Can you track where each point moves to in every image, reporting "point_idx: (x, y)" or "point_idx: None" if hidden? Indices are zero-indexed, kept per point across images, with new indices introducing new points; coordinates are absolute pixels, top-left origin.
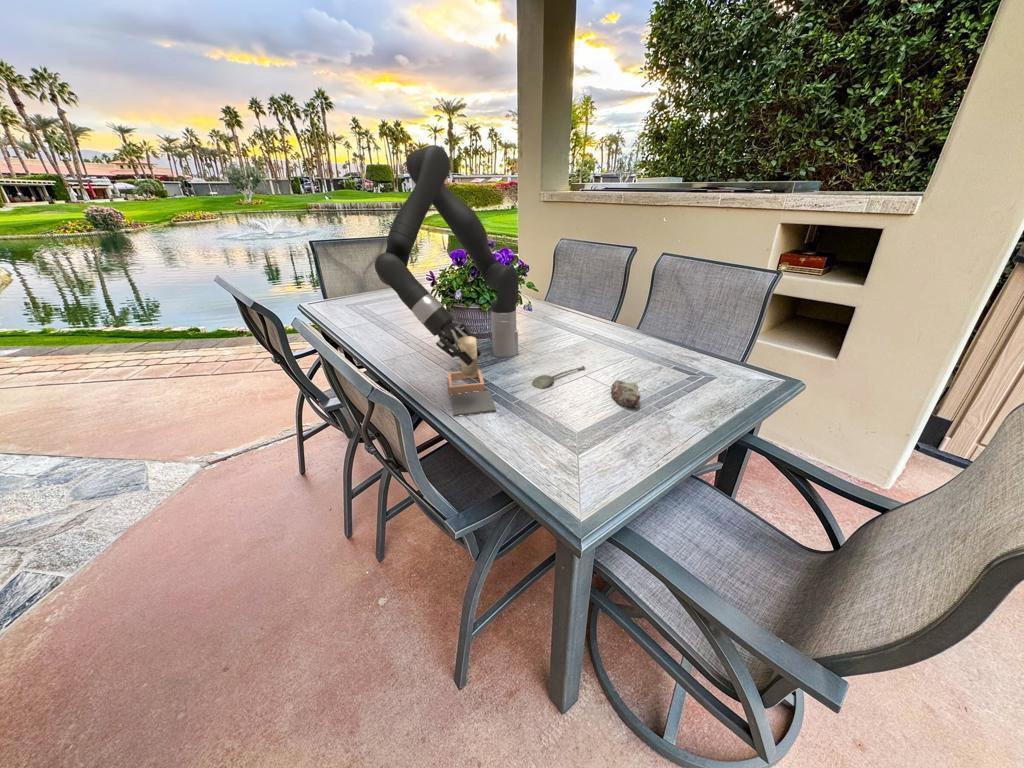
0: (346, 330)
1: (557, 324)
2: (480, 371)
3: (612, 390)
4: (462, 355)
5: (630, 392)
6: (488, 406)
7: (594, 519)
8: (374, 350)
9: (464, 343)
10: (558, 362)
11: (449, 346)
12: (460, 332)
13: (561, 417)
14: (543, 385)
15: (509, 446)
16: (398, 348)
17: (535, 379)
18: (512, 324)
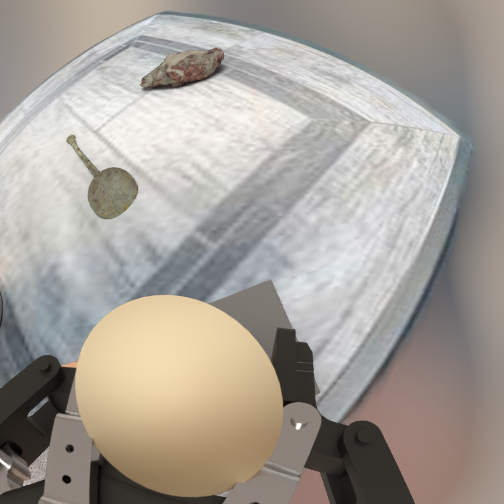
0: None
1: None
2: (70, 364)
3: (176, 78)
4: (314, 400)
5: (199, 56)
6: (257, 305)
7: (451, 126)
8: None
9: (282, 411)
10: (36, 187)
11: (408, 495)
12: (76, 493)
13: (265, 139)
14: (130, 184)
15: (396, 219)
16: None
17: (102, 206)
18: None
